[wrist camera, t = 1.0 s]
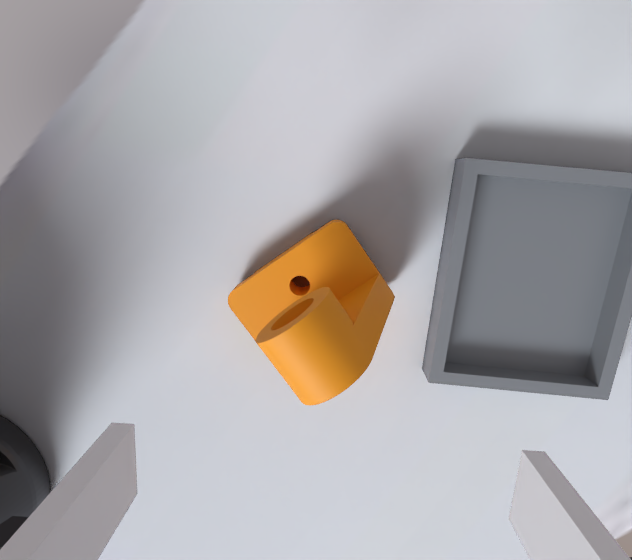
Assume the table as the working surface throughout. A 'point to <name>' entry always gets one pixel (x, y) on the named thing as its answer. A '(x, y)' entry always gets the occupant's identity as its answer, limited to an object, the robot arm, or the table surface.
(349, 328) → the bracket
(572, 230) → the tray
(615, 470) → the table surface
